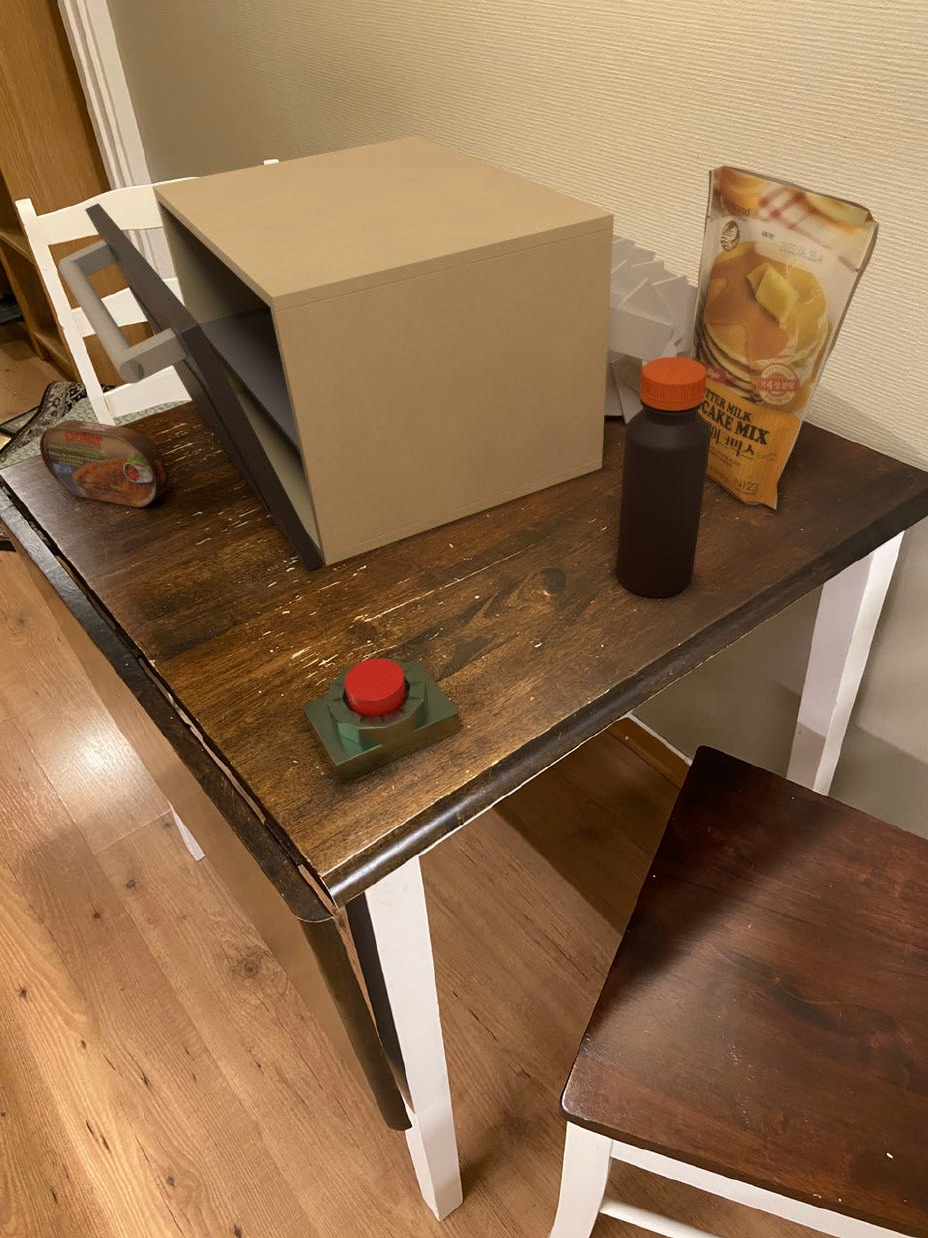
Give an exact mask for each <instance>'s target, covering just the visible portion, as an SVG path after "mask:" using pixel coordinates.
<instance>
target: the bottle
mask: <svg viewBox="0 0 928 1238" xmlns="http://www.w3.org/2000/svg"><path fill="white" fill-rule="evenodd" d="M706 377H707V370H706V369H705V368H704V366H703V365H702V364H700V363H698V362H696V361H694V360H691V359H687V358H680V357H666V358H659V359H656V360H652V361H650V362H649V363H647V364H646V365H645V366H643V368H642V372H641V385H640V386H641V387H640V403H641V405H642V406H643V409H642V410H641V411H640V412H638V413H637V414H636V415H635V416H633V417H632V418H631V420H630V421H629V423H628V424H626V426H625V432H624V433H625V434H624V450H623V451H624V452H623V463H622V464H623V465H622V478H621V493H620V507H619V524H618V541H617V553H616V554H617V555H616V568H615V569H616V573H615V574H616V577H617V579H618V581H619V583H620V584H621V585H622V586H623V587H624V588H625V589H626V590H627V591H630V592H632V593H634V594H636V595H639V596H643V597H647V598H665V597H671V596H673V595H676V594H679V593H680V592H682V591H684V590H685V589H686V588H687V587H688V586H689V584H690V582H691V580H692V578H693V571H694V564H695V558H696V557H695V556H696V549H697V542H698V536H699V528H700V520H701V513H702V507H703V506H702V505H703V498H704V491H705V484H706V478H707V477H706V471H707V463H708V456H709V449H710V441H711V429H710V425H709V424H708V423H707V421H706V420H705V419H704V418H703V417H702V416H701V415H700V414H699V413H698V409H700V407H701V405H702V403H703V402H702V401H703V399H704V393H705V384H706Z"/></svg>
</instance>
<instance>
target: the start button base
mask: <svg viewBox="0 0 928 1238" xmlns="http://www.w3.org/2000/svg"><path fill="white" fill-rule="evenodd" d="M369 659H370V658H367V659H365V660H361V661H359V662H357V663H354V664H352V665H349V666H347V667H345V668H344V669H343V670H342V671H341V672H340V673H339V674H338V675H337V676H336V677H335V678H334V679H333V680H332V682H330V683H329V687H328V692H327V694H326V695H323V696H321V697H318V698H316V699H314V700H311V701H309V702H306V703H304V704H302V705H301V707H302V711H303V715H304V719H305V723H306V726H307V727H308V729H309V731H310V733H311V735H312V737H313V738H314V740H315V742H316V744H317V745H318V747H319V749H320V751H321V753H322V754H323V757H324V758H325V760H326V762H327V764H328V765H329V767H330V769H331V770H332V772H333V774H334V776H335V778H336V780H337V782H338V783H339V785H343V784H345V783H347V782H350V781H352V780H354V779H356V778H358V777H361V776H363V775H365V774H367V773H369V772H370V773H371V772H372V771H374V770H376V769H378V768H381V767H383V766H385V765H388V764H390V763H392V762H395V761H396V760H399V759H401V758H404V757H405V756H408V755H410V754H412V753H415V752H417V751H419V750H422V749H424V748H425V747H428V746H430V745H433V744H435V743H437V742H439V741H442V740H444V739H446V738H448V737H451V736H453V735H455V734H457V733H460V732H461V723H460V713H459V710H458V708H456V706H455V705H454V703H453V702H452V701H451V699H450V698H449V696H448V695H446V693H445V692H444V690H443V689H442V688H441V686H440V685H439V684H438V682H437V681H436V680H435V678H434V677H433V675H432V674H431V673H430V672H429V670H428V668H426V666H425V665H424V664H423V663H422V661H421V660H420V658H419V657H418V658H417V657H416V658H415V659H412V660H410V661H409V660H408V661H407V662H404V661H403V660H399V659H397V658H394V657H381V658H379V657H376V658H373V659H387V660H390V661H393V662H394V663H396V664H397V665H399V666H400V668H401V669H402V671H403V673H404V680H405V686H406V697H405V699H404V701H403V703H402V704H401V705H400V706H399V707H398V708H397V709H396V710H394V711H392V712H390V713H388V714H385V715H381V716H365V715H362V714H359V713H357V712H356V711H354V710H353V709H352V708H351V707H350V705H349V703H348V699H347V694H346V690H345V684H344V682H345V677H346V675H347V673H348V672H349V671H350V669H351V668H353V667H354V666H355V665H357V664H358V663H360V662H363V661H366V660H369Z"/></svg>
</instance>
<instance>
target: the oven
mask: <svg viewBox="0 0 928 1238" xmlns="http://www.w3.org/2000/svg"><path fill="white" fill-rule="evenodd" d="M152 190H153V195H154V197H155V202H156V205H157V210H158V212H159V216H160V220H161V223H162V227H163V231H164V235H165V238H166V243H167V246H168V249H169V253H170V257H171V261H172V264H173V268H174V272H175V276H176V279H177V283H178V287H179V291H180V295H181V297H182V301H183V305H184V306H185V308H186V309H187V310H188V311H189V312H190V314H191V315H192V316H193V317H194V318H195V320H196V321H197V322H198V323H199V325H200V327H201V329H202V331H203V333H204V334H205V336H206V338H207V340H208V342H209V344H210V346H211V348H212V350H213V352H214V354H215V356H216V358H217V360H218V362H219V363H220V365H221V367H222V369H223V371H224V373H225V375H226V377H227V379H228V381H229V383H230V385H231V387H232V389H233V391H234V392H235V394H236V396H237V398H238V400H239V402H240V404H241V406H242V408H243V410H244V412H245V414H246V416H247V418H248V419H249V421H250V423H251V425H252V427H253V429H254V431H255V433H256V435H257V437H258V439H259V441H260V443H261V445H262V447H263V448H264V450H265V452H266V454H267V456H268V458H269V460H270V462H271V464H272V466H273V468H274V470H275V472H276V474H277V476H278V477H279V479H280V481H281V483H282V485H283V487H284V489H285V491H286V493H287V495H288V497H289V499H290V501H291V503H292V504H293V506H294V508H295V510H296V512H297V514H298V516H299V518H300V520H301V522H302V524H303V526H304V528H305V530H306V532H307V533H308V535H309V537H310V539H311V541H312V543H313V545H314V547H315V549H316V551H317V553H318V555H319V557H320V559H321V561H322V562H323V564H325V566H327V567H328V566H330V565H333V564H336V563H339V562H341V561H344V560H347V559H350V558H353V557H356V556H359V555H361V554H365V553H367V552H371V551H373V550H375V549H378V548H381V547H384V546H387V545H389V544H392V543H395V542H399V541H400V540H404V539H406V538H409V537H412V536H415V535H417V534H420V533H422V532H426V531H429V530H432V529H434V528H438V527H440V526H443V525H446V524H449V523H451V522H454V521H457V520H460V519H462V518H465V517H469V516H472V515H474V514H477V513H479V512H483V511H485V510H488V509H491V508H495V507H497V506H499V505H503V504H506V503H508V502H511V501H513V500H516V499H519V498H522V497H524V496H525V497H526V496H527V495H530V494H533V493H536V492H540V491H541V490H544V489H547V488H551V487H552V486H556V485H558V484H562V483H564V482H568V481H570V480H572V479H575V478H579V477H581V476H584V475H586V474H590V473H592V472H595V471H598V470H601V469H603V453H604V431H605V415H604V412H605V391H606V370H607V349H608V327H609V306H610V285H611V264H612V242H613V234H614V218H615V213H612V212H610V211H607V210H605V209H602V208H599V207H597V206H594V205H592V204H589V203H587V202H585V201H583V200H580V199H577V198H574V197H572V196H570V195H567V194H565V193H562V192H560V191H557V190H554V189H552V188H550V187H546V186H544V185H542V184H540V183H537V182H535V181H533V180H529V179H527V178H525V177H522V176H519V175H517V174H515V173H512V172H509V171H506V170H504V169H502V168H499V167H497V166H495V165H493V164H489V163H487V162H484V161H482V160H480V159H477V158H474V157H471V156H469V155H467V154H464V153H461V152H459V151H456V150H454V149H451V148H449V147H446V146H444V145H442V144H439V143H436V142H434V141H431V140H429V139H427V138H424V137H421V136H419V135H413V136H408V137H403V138H402V137H401V138H398V139H397V138H396V139H392V140H387V141H381V142H377V143H372V144H367V145H361V146H355V147H351V148H344V149H340V150H334V151H329V152H325V153H319V154H313V155H310V156H309V155H308V156H303V157H299V158H294V159H293V158H292V159H288V160H287V159H286V160H282V161H276V162H272V163H267V164H262V165H256V166H251V167H246V168H241V169H240V168H239V169H236V170H235V169H234V170H230V171H224V172H220V173H214V174H208V175H205V176H198V177H194V178H193V177H192V178H188V179H183V180H178V181H172V182H168V183H163V184H157V185H152Z"/></svg>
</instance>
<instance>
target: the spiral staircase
mask: <svg viewBox="0 0 928 1238" xmlns="http://www.w3.org/2000/svg"><path fill="white" fill-rule="evenodd" d="M636 243H637V242H636V241H634V240H632V239H629V238H627V237H623V236H620V235H617V234H614V233H613V242H612V264H611V285H610V306H609V327H608V349H607V370H606V391H605V412H604V416H622V418H623V422H624V423H625V424H626V425H627V424H628V423H629V421H630V420H631V418H632V417H633V416H635V415H636V414H637V413H638V412H640V411H641V410H642V409H643V406H642V405H641V403H640V387H641V386H640V385H641V372H642V368H643V366H645V365H646V364H647V363H649V362H650V361H652V360H656V359H659V358H666V357H680V358H687V359H691V344H692V333H693V313H694V306H695V299H696V294H697V288H698V286H695V285H692V284H689V283H690V280H688V275H687V274H681V275H677V274H675V273H673V272H671V271H670V270H667V269H665V260H664V259H656V260H655V257H656V253H657V252H656V251H654V250H650V249H646V248H641V247H636V246H635V245H636Z"/></svg>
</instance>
